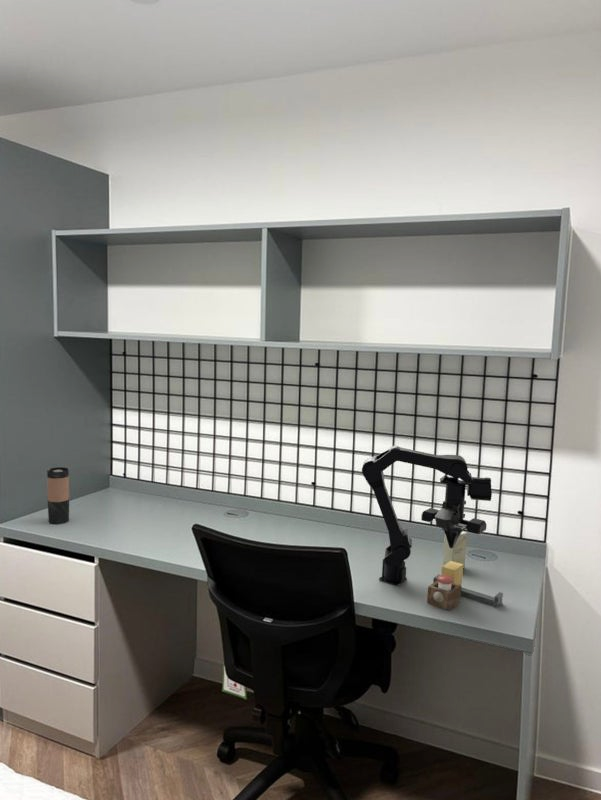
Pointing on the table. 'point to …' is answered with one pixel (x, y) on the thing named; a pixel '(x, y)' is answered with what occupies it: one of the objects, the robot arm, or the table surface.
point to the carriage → (453, 571)
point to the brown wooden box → (444, 596)
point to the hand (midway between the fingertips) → (451, 547)
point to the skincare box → (455, 550)
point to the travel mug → (58, 495)
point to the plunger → (445, 582)
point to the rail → (480, 596)
